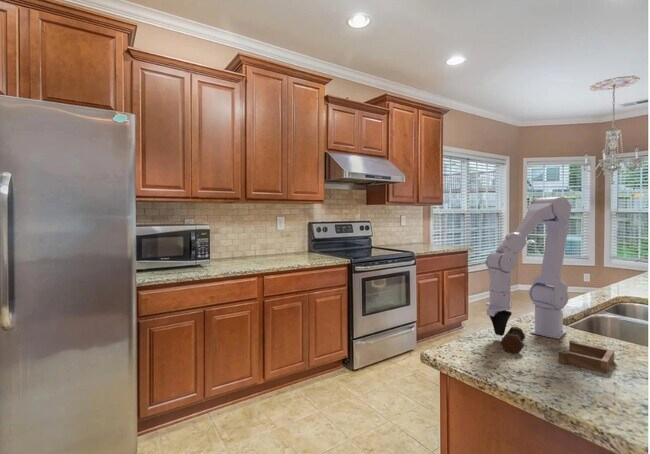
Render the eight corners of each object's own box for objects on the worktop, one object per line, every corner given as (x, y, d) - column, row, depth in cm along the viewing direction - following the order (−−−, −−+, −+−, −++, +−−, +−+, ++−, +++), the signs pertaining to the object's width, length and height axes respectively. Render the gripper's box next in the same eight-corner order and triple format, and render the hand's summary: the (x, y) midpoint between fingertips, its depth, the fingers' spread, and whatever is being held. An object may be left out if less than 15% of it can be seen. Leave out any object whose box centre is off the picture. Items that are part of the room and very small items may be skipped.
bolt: (519, 344, 109) (514, 358, 96) (504, 333, 111) (497, 346, 99) (530, 329, 107) (526, 342, 95) (515, 319, 110) (508, 330, 97)
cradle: (570, 349, 99) (570, 339, 99) (614, 359, 92) (614, 349, 92) (557, 362, 90) (557, 351, 90) (605, 375, 83) (606, 363, 83)
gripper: (495, 285, 114) (495, 326, 115) (476, 292, 105) (476, 336, 105) (519, 288, 109) (518, 331, 110) (501, 296, 99) (500, 343, 100)
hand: (499, 334), depth 107 cm, fingers closed
